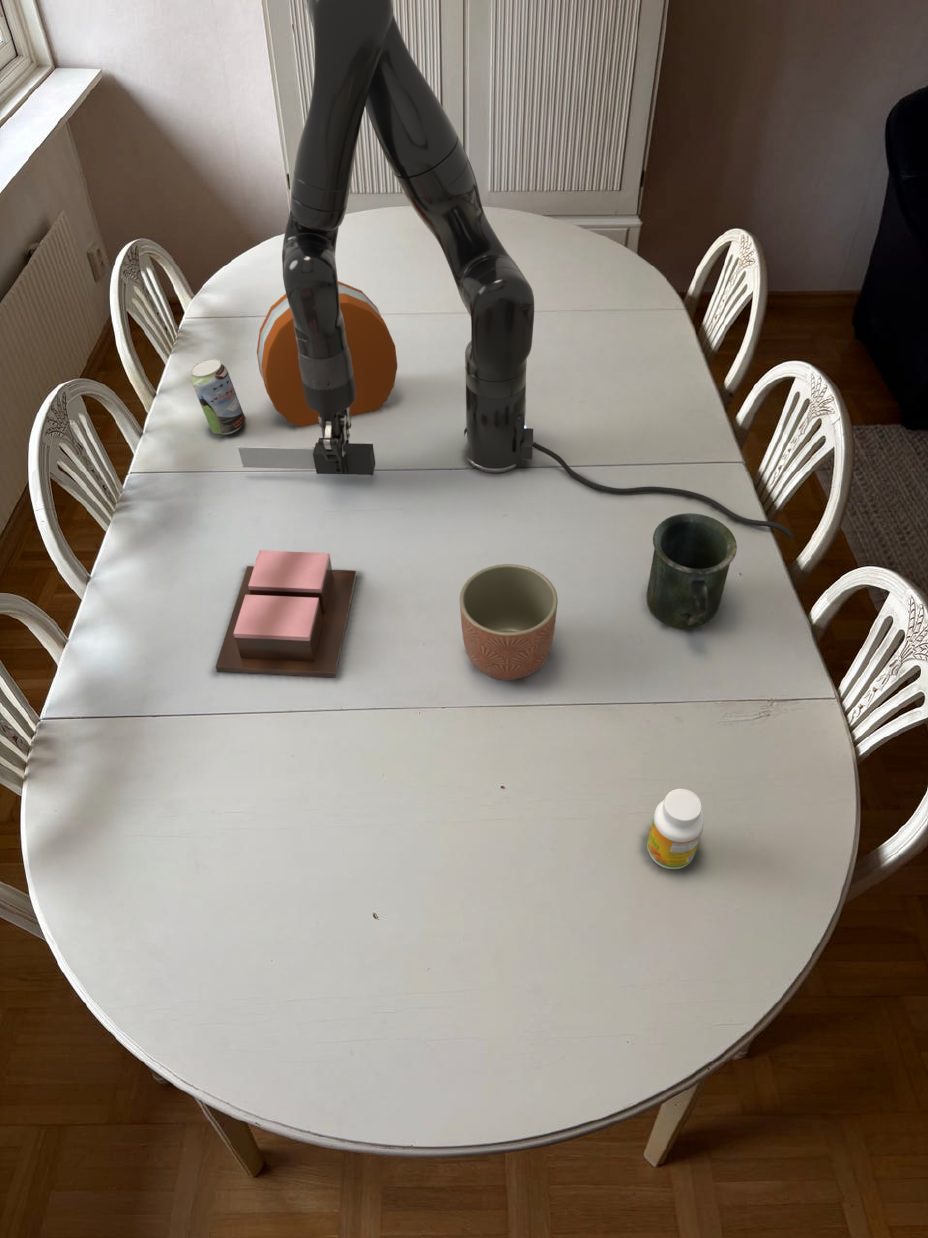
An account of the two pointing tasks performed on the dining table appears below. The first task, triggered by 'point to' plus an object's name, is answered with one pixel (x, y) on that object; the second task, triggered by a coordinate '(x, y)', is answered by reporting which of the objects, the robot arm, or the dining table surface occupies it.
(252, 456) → the knife
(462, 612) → the planter
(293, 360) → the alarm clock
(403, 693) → the dining table surface
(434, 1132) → the dining table surface
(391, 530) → the dining table surface
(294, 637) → the cake
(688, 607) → the mug
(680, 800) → the supplement bottle
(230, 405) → the beverage can
